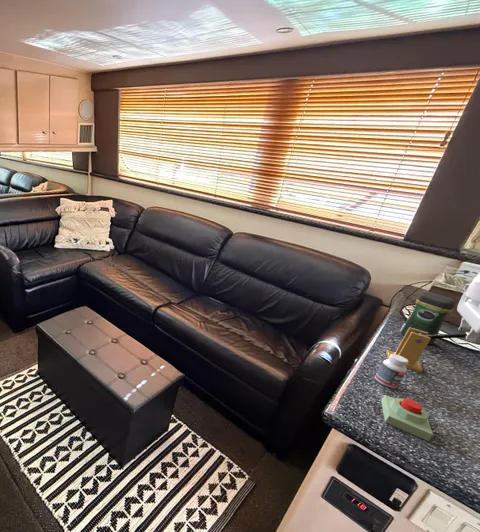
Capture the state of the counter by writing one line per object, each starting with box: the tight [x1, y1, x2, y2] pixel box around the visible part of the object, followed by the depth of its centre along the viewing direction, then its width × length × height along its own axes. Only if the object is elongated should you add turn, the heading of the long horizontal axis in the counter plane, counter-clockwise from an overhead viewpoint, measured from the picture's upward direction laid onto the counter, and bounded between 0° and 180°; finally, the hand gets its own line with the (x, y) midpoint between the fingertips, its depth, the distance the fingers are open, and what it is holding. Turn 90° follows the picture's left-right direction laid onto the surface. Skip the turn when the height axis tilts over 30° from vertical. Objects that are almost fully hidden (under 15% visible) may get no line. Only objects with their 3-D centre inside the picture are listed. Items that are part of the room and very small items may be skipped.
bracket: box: [385, 327, 431, 374], centre depth 104 cm, size 8×7×12 cm
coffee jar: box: [399, 290, 457, 345], centre depth 120 cm, size 10×8×19 cm
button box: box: [380, 394, 434, 442], centre depth 81 cm, size 10×8×4 cm
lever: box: [417, 330, 470, 340], centre depth 100 cm, size 13×5×2 cm, turn 52°
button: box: [400, 397, 424, 414], centre depth 80 cm, size 4×4×2 cm
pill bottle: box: [374, 354, 408, 389], centre depth 94 cm, size 5×5×9 cm
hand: (465, 336), depth 96 cm, fingers closed on lever, 5 cm apart
